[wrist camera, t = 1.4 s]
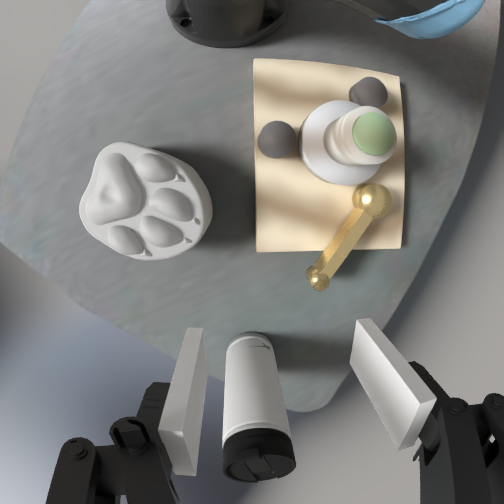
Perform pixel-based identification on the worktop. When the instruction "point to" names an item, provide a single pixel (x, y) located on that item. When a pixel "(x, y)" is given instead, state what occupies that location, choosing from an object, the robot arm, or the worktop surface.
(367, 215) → the brass ball lever
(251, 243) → the worktop surface
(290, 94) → the base
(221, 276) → the worktop surface
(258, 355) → the travel mug
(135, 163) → the paw-shaped mold
